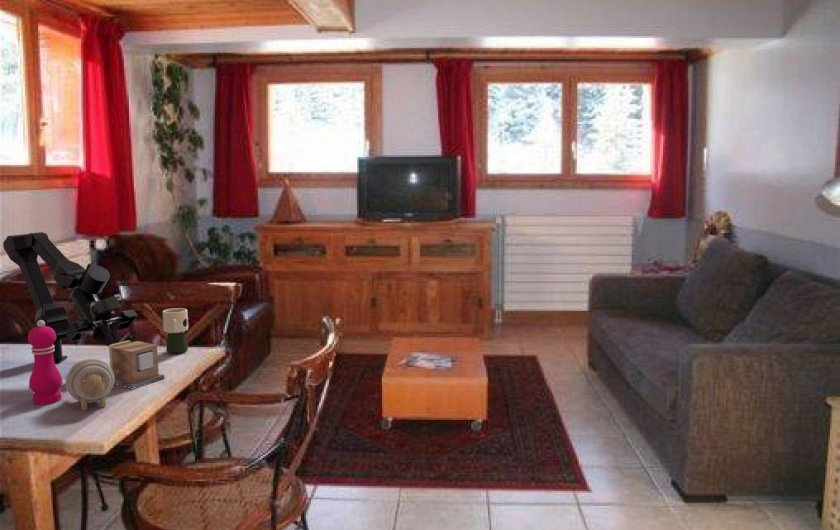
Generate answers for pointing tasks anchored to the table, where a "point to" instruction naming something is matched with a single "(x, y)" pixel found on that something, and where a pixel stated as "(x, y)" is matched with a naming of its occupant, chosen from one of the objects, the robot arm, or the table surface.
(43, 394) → the pepper mill
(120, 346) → the wooden drawer box
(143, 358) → the tan drawer
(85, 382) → the toy sheep
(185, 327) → the character mug
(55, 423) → the table surface
